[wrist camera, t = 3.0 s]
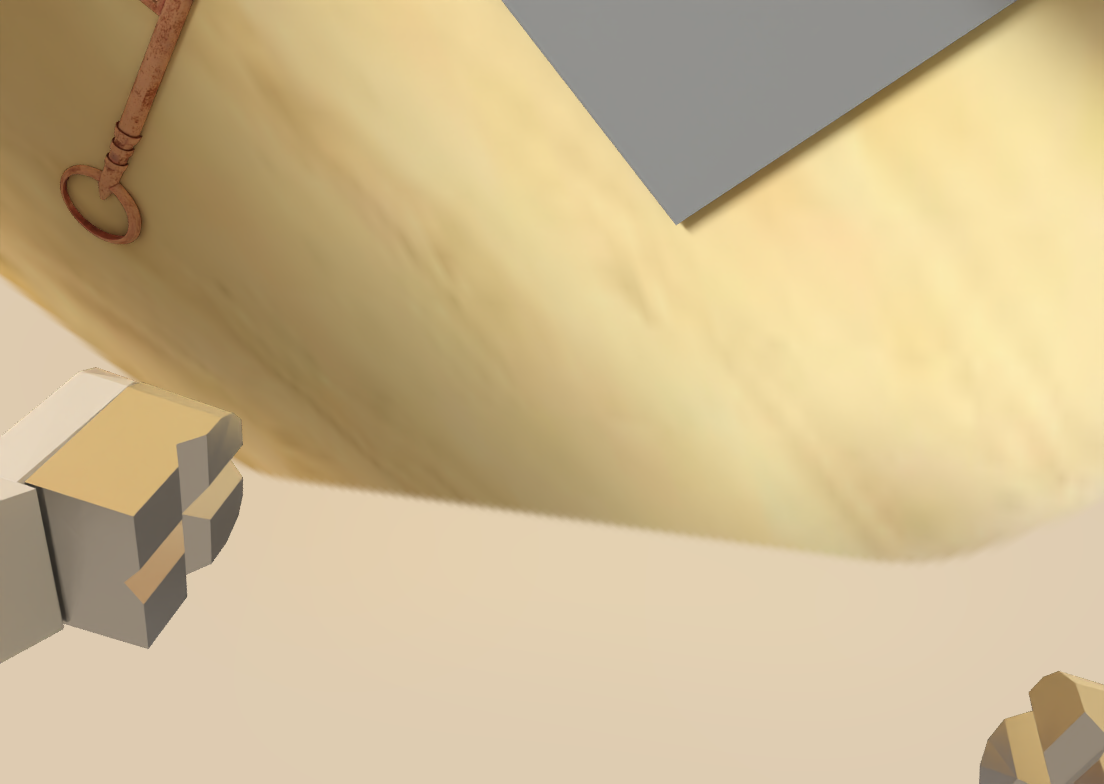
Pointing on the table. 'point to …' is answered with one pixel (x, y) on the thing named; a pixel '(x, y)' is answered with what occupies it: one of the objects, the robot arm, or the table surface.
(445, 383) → the table surface
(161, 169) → the table surface
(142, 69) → the key
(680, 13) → the mat
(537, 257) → the table surface
